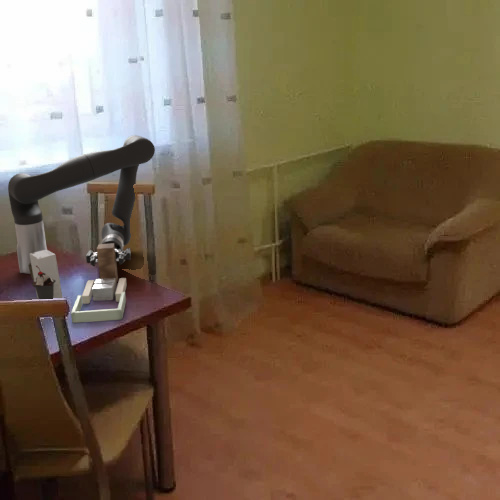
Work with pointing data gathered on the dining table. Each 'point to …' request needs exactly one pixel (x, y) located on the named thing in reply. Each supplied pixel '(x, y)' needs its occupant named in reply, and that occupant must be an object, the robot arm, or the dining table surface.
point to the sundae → (44, 286)
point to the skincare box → (46, 268)
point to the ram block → (107, 261)
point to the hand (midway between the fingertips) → (106, 262)
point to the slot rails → (90, 283)
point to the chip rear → (106, 281)
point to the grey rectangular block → (103, 292)
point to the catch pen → (97, 312)
